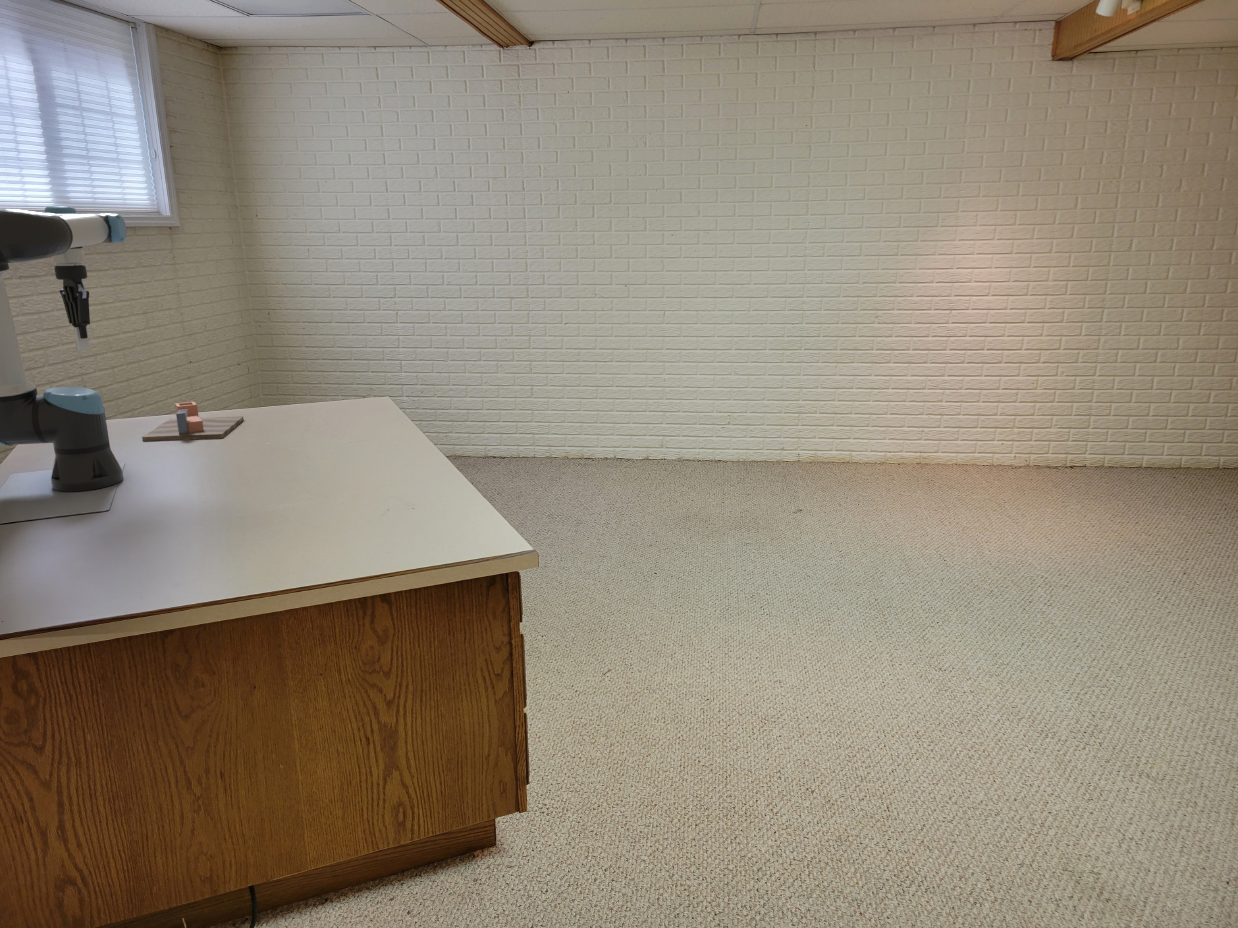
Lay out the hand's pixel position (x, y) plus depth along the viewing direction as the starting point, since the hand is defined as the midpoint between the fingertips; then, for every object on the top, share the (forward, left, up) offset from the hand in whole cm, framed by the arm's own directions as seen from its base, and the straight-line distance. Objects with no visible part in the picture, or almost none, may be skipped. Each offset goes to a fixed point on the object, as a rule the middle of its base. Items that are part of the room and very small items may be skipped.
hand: (83, 349), depth 252 cm
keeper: (+2, -23, -26) cm, 35 cm away
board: (+9, -24, -26) cm, 37 cm away
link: (+9, -23, -25) cm, 35 cm away
